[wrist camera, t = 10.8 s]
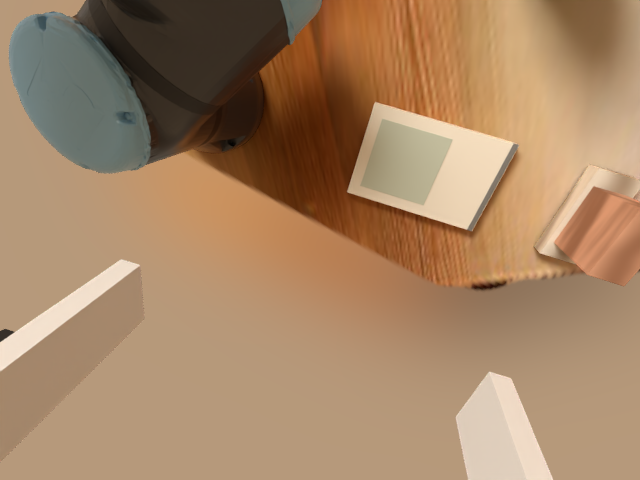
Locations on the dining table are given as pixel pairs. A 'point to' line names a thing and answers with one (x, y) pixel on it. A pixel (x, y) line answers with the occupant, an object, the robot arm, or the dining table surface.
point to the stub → (598, 226)
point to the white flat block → (429, 166)
